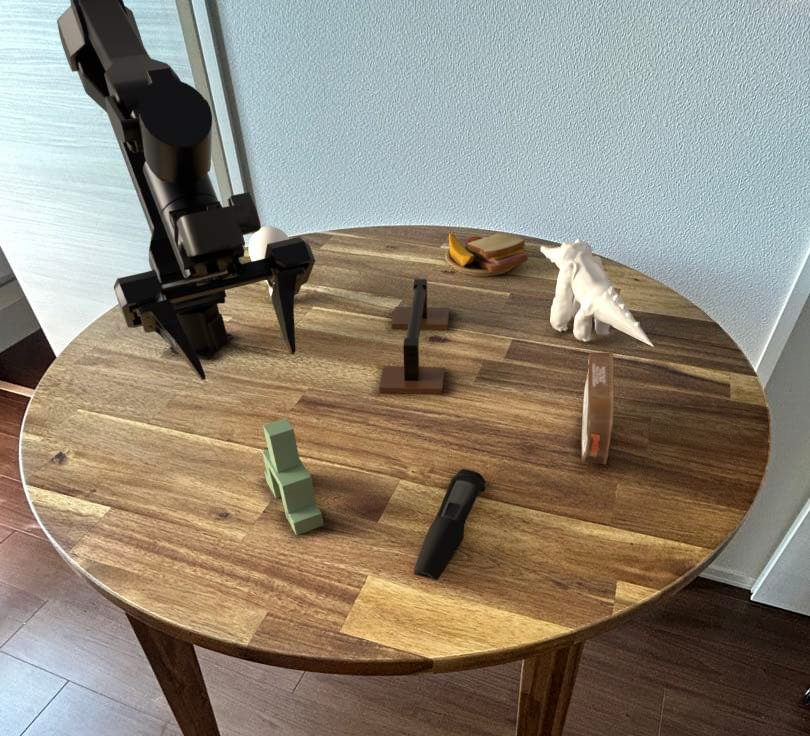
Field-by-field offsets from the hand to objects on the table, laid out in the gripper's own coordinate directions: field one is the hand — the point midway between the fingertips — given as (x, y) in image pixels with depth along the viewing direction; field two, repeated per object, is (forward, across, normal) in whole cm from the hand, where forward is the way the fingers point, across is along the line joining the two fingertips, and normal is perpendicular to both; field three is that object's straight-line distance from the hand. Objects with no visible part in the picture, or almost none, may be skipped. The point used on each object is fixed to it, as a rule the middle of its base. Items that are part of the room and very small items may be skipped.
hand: (249, 365), depth 64 cm
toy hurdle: (-1, +26, +19) cm, 32 cm away
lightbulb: (-17, +14, +35) cm, 41 cm away
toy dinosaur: (+6, +48, +13) cm, 50 cm away
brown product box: (+18, +34, 0) cm, 39 cm away
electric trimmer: (+22, +12, -4) cm, 26 cm away
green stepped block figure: (+14, 0, +4) cm, 15 cm away
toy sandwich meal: (-13, +48, +32) cm, 59 cm away
